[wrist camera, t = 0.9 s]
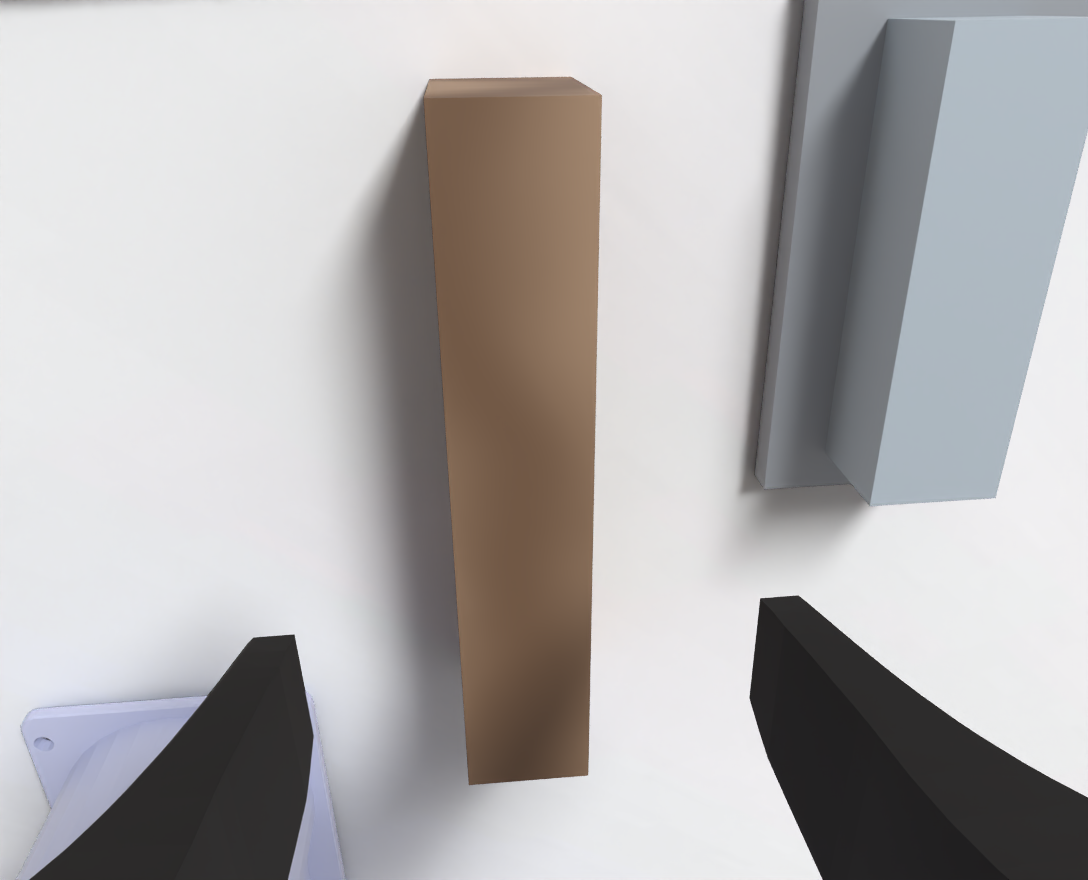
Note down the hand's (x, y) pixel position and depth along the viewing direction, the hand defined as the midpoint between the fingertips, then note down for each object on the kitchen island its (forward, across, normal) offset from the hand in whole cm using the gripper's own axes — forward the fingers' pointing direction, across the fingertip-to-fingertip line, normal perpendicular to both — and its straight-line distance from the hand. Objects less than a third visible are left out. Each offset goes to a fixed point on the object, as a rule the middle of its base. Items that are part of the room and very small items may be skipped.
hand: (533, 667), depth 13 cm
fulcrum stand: (+9, -10, -4) cm, 14 cm away
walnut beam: (+10, 0, 0) cm, 10 cm away
